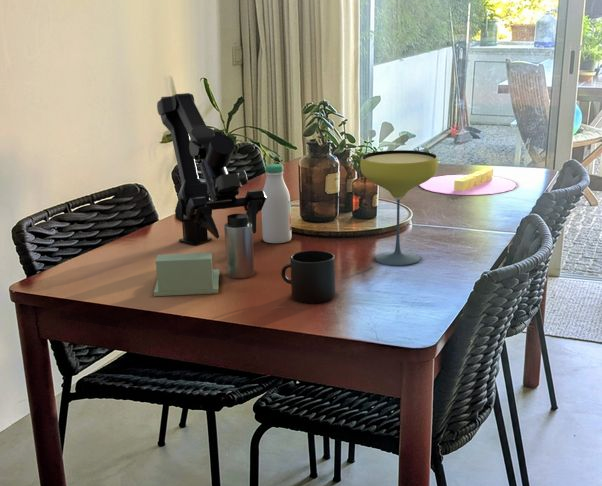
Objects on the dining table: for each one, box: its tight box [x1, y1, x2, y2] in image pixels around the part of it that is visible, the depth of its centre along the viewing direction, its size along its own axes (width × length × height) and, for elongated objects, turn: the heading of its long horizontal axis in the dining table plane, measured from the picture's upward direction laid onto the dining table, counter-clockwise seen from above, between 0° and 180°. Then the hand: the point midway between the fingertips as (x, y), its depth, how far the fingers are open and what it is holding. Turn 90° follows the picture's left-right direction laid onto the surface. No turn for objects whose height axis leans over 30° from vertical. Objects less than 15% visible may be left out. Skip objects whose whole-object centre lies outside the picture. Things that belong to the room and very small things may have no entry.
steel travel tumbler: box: [223, 213, 255, 279], centre depth 201 cm, size 6×6×14 cm
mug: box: [280, 249, 336, 304], centre depth 186 cm, size 9×12×9 cm
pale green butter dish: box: [153, 252, 220, 297], centre depth 196 cm, size 15×14×8 cm
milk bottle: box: [261, 163, 292, 244], centre depth 227 cm, size 8×8×20 cm
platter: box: [419, 168, 517, 196], centre depth 289 cm, size 32×32×3 cm
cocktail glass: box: [359, 149, 439, 267], centre depth 206 cm, size 18×18×25 cm
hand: (236, 234), depth 201 cm, fingers open, 9 cm apart
